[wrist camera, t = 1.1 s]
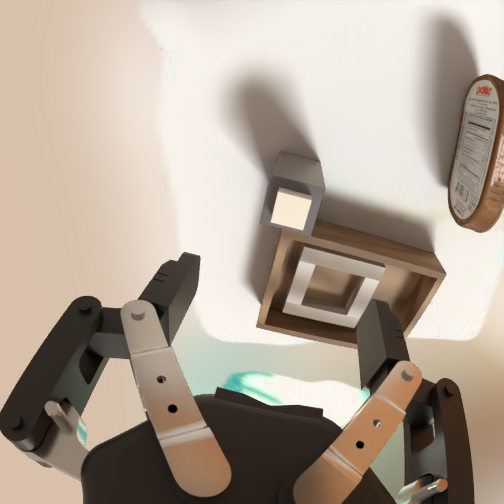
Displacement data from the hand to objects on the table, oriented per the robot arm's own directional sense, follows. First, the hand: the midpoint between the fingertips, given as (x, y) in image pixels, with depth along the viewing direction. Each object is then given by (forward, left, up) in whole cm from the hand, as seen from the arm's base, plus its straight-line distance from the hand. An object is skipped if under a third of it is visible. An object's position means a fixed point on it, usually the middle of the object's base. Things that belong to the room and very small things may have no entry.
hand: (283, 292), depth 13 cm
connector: (0, 0, -18) cm, 18 cm away
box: (+11, +9, -18) cm, 23 cm away
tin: (-9, +16, -18) cm, 26 cm away
